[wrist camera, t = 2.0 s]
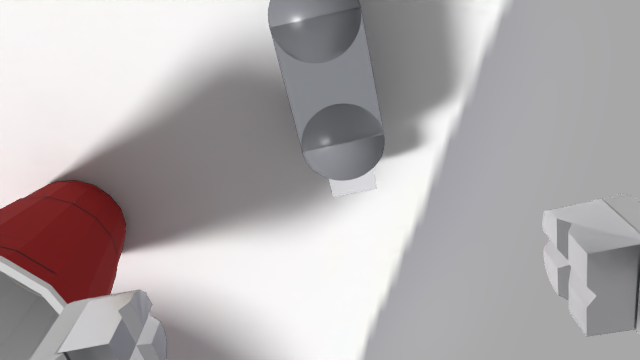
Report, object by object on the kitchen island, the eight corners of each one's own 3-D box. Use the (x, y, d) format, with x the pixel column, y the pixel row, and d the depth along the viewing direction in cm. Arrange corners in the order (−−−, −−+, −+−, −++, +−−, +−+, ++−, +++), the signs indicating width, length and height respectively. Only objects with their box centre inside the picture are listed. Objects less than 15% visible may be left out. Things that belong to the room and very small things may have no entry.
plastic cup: (165, 144, 29) (76, 270, 18) (170, 293, 34) (103, 463, 23) (-29, 127, 28) (-239, 246, 18) (4, 280, 33) (-145, 448, 22)
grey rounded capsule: (345, -49, 25) (351, -45, 21) (384, 162, 30) (395, 199, 26) (266, -29, 25) (256, -21, 21) (318, 176, 30) (319, 214, 26)
